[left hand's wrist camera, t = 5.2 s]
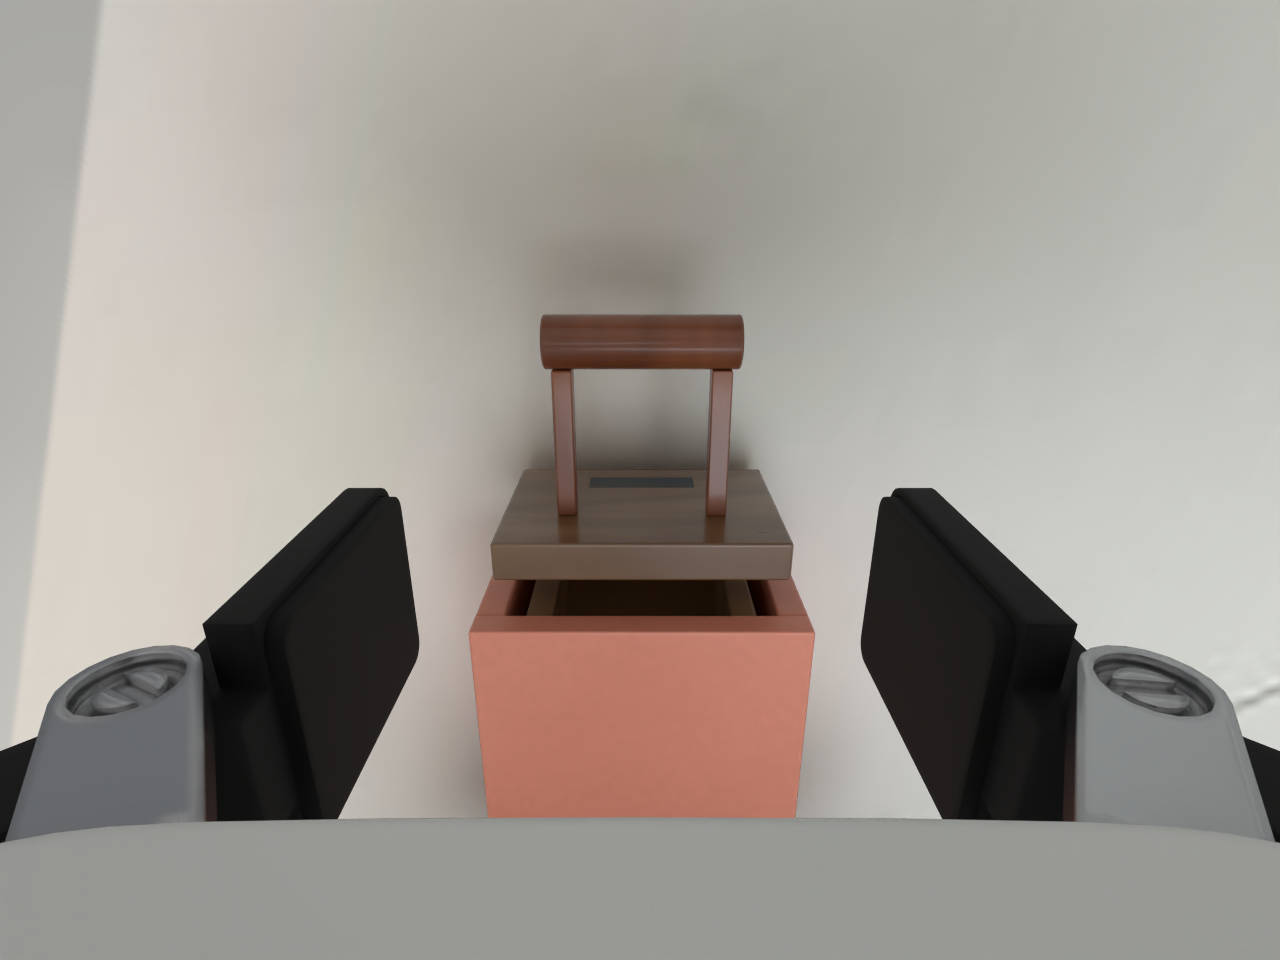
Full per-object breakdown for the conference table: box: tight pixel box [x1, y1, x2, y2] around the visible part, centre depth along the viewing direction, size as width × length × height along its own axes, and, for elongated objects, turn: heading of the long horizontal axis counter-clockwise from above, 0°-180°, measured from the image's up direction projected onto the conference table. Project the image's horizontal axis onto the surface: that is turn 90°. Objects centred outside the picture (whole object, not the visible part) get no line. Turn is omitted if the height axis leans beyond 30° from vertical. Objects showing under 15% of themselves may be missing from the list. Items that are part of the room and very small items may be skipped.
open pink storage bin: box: [469, 575, 815, 818], centre depth 26 cm, size 17×10×8 cm, turn 0°
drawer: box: [490, 315, 793, 616], centre depth 24 cm, size 22×9×6 cm, turn 0°
